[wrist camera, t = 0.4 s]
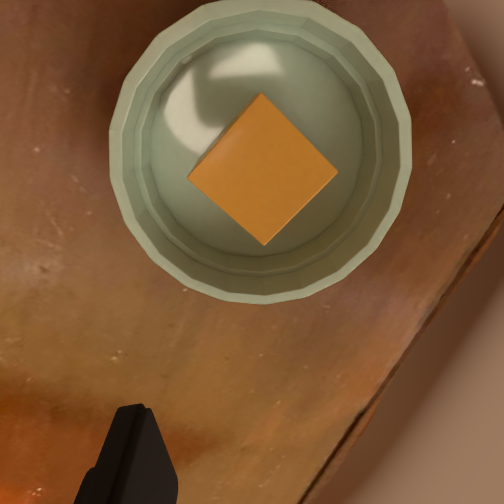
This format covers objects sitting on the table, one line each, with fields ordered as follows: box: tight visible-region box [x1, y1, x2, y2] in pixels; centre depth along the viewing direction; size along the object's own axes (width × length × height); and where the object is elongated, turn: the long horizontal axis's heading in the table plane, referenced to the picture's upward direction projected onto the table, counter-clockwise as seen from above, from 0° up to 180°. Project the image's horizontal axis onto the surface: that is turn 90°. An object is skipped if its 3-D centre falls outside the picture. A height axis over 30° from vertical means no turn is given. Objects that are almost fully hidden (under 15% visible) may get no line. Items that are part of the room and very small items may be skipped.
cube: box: [187, 92, 338, 246], centre depth 19 cm, size 5×5×5 cm
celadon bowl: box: [109, 0, 412, 305], centre depth 20 cm, size 14×14×5 cm
